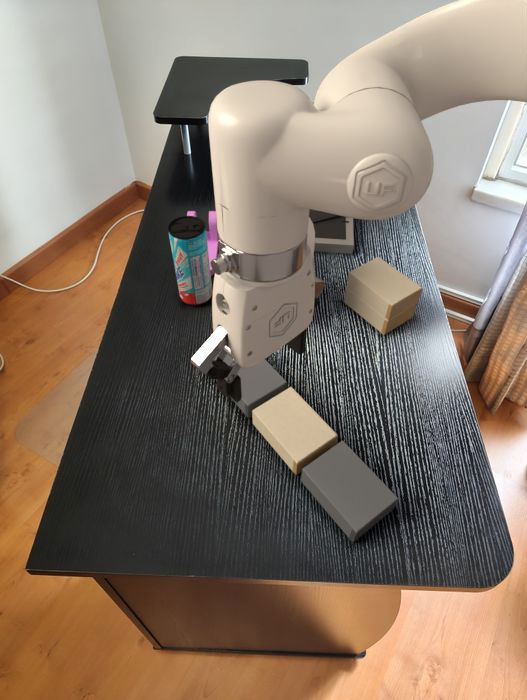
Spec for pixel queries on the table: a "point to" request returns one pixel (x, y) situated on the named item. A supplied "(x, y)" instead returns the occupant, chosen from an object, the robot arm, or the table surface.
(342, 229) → the picture frame
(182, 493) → the table surface
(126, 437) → the table surface
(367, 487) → the grey book
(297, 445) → the cream book
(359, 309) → the beige rectangular block
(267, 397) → the grey book
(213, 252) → the bracket
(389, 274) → the cream book pile middle
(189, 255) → the beverage can
